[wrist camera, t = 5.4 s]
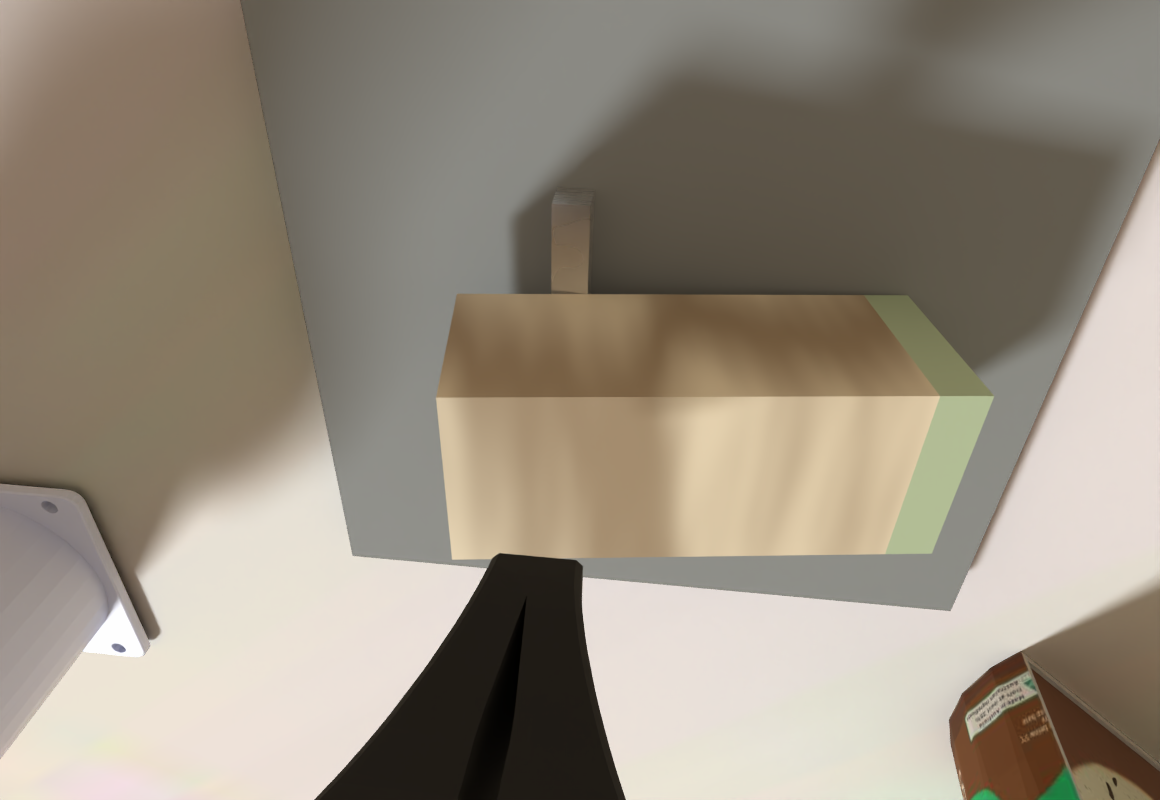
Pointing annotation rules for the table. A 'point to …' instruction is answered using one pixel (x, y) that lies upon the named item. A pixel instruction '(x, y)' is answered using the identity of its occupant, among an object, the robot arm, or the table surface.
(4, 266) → the table surface
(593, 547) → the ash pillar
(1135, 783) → the food container
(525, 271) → the mat
